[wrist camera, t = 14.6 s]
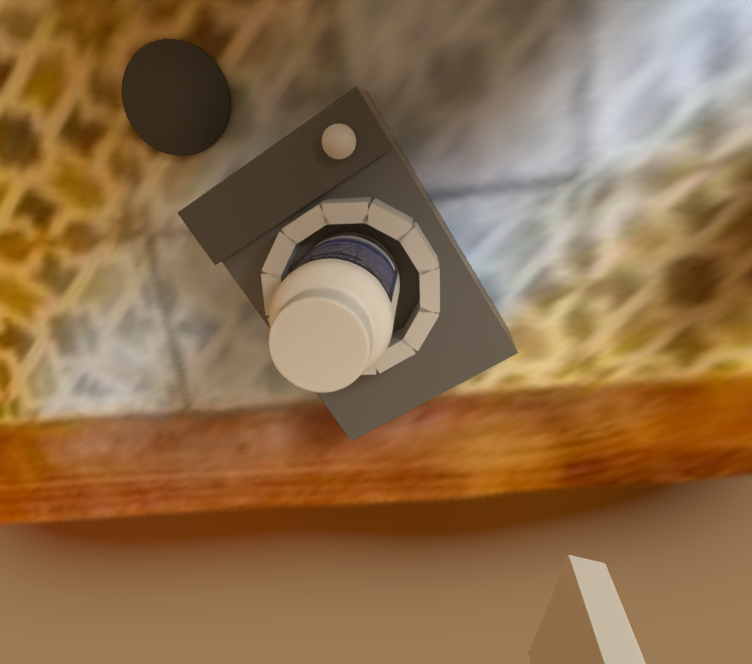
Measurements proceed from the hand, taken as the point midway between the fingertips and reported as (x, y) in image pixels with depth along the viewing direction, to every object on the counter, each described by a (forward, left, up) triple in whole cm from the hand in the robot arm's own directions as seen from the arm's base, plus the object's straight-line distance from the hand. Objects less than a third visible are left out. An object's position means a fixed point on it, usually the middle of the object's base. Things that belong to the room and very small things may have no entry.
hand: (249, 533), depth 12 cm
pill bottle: (0, 0, -21) cm, 21 cm away
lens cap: (-12, -7, -25) cm, 29 cm away
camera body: (0, 0, -25) cm, 25 cm away
